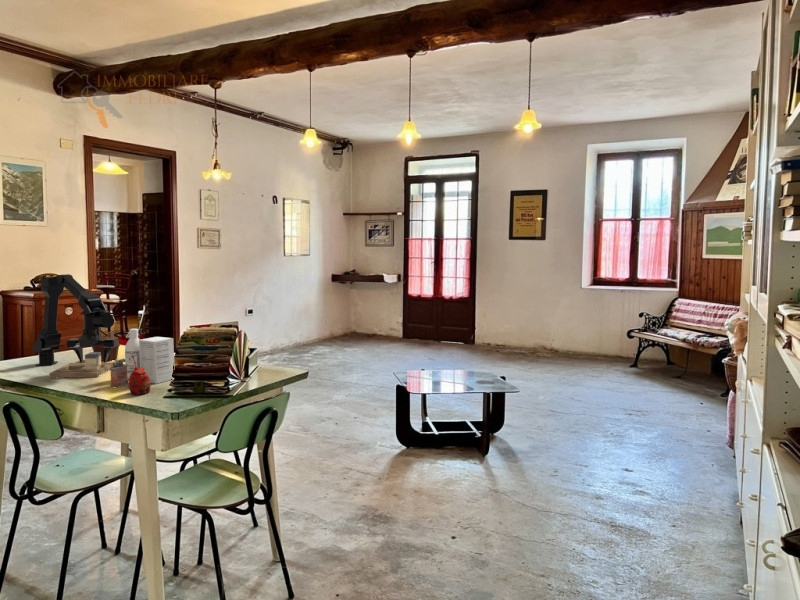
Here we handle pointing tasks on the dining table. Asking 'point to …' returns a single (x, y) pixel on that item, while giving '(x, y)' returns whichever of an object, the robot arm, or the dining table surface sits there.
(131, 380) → the red clay folk toy
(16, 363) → the dining table surface
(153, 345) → the supplement box
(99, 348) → the muffin
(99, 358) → the block
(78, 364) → the wooden frame
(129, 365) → the bath foam
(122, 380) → the lighter
